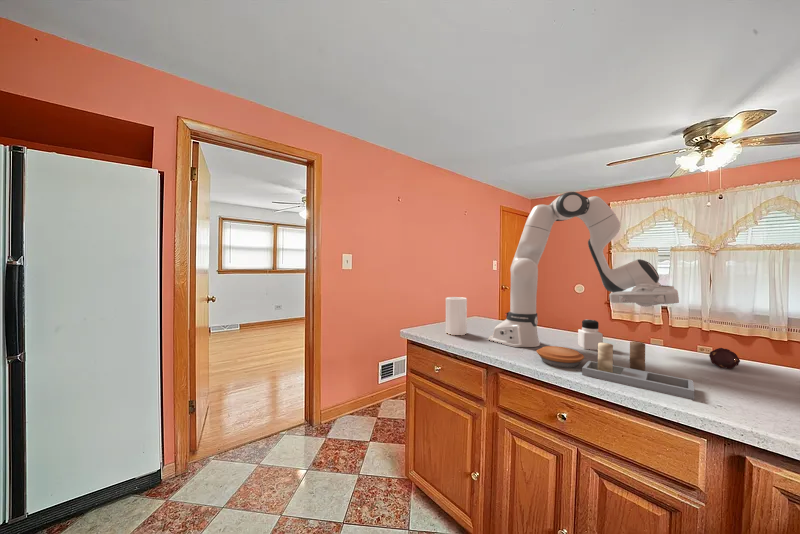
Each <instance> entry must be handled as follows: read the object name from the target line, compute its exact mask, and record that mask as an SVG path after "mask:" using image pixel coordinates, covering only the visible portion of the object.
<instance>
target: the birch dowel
mask: <svg viewBox="0 0 800 534" xmlns="http://www.w3.org/2000/svg"><path fill="white" fill-rule="evenodd" d="M597 362H598V370H600V371H605V372H610V373H613V365H614V363H613V362H614V345H613V343H607V342H603V343H598V350H597Z"/></svg>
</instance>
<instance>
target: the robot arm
mask: <svg viewBox="0 0 800 534" xmlns="http://www.w3.org/2000/svg"><path fill="white" fill-rule="evenodd" d="M573 218H578V219H579V220H581V221H582V222H583V223H584V225H585V226H586V228H587V229H588V231H589V232H588V233H589V239H588V240H587V245H588V249H589V252H590V255H591V256H592V259H593V262H594V263H595V266H596V270H597V271H598V274H599V276H600V278H601V279H600V280H601V283H602V286H603V287H604V288H605V290H606V291H608V292H611V293H609V297H608V298H609V302H610V303H612V304H615V303H616V304H617V303H618V304H619V303H620V304H623V303H624V304H625V303H626V304H631V303H632V304H633V303H634V304H636V305H638V306H640V307H652V306H657V305H671V304H672V305H673V304H678V303H680V297H679V292H678V290H677V289H676V288H675V286H674V285H661V283H660V282H659V281H660V275H659V273H658V272H657V270H656V268H655V267H654V266H653V265H652V264H651V263H650V262H649V261H646V260H644V259H641V258H640V259H639V258H638V259H636V260H633V261H630V262H627V263H626V264H623V265H621V266H618V267H615V268H614V269H613V268H610V266H609V264H608V260H607V258H606V256H605V254H604V250H605V247H606V246H607V245H608V244H609V243H611V241H612V240H614V238H615V237H616V236H617V235H618V233H619V232H620V230H621V222H620V220H619V218H618V216H617V215H616V213H615V212H614V210H613V209H612V208H611V207H610V205H608V204H607V203H606V201H605V200H604V199H602V198H601V197H600V196H595V195H594V196H590V197H589V196H584V195H582V194H581V193H578V192H576V191H566V192H564V193H562V194H561V195H559V196H557V197H556V198H555V199H554V200H553V201H551V203H549V204H543V203H542V204H537V205H535V206H534V207H533V208H532V209H531V211H530V212H529V215H528V216H527V218H526V220H525V224H524V227H523V229H522V230H523V231H522V232H521V236H520V239H519V242H518V245H517V248H516V251H515V253H514V257H513V258H512V261H511V264H510V268H509V270H510V294H509V295H510V296H509V297H510V302H509V305H510V307H509V308H510V310H509V311H508V312H505V314H504V316H505V317H506V319H504V320H503V321H502V322H500V323H498V324H497V325H496V326H495V327H494V328H493V333H492V335H489V336H488V339H487V341H489V340H490V341H489V342H493V341H494V342H493V343H497V342H498V343H497V344H501V343H502V345H505V346H509V347H513V348H534V347H539V346H541V342H540V339H539V335H538V323H539V322H538V319H539V318H538V312H537V293H538V292H537V291H538V282H539V280H538V277H539V267H538V265H539V263H540V261H541V258H542V255H543V253H544V251H545V249H546V245H547V243H548V240H549V237H550V234H551V232H552V228H553V225H554V223H555V222H562V221H563V222H564V221H567V220H570V219H573ZM631 288H632V289H631ZM627 289H631V290H629V291H628V290H627Z"/></svg>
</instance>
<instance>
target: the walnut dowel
mask: <svg viewBox="0 0 800 534" xmlns="http://www.w3.org/2000/svg"><path fill="white" fill-rule="evenodd" d="M629 368H631V369H636V370H641V371H646V343H644V342H639V341H629Z"/></svg>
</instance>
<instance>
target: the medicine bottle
mask: <svg viewBox="0 0 800 534" xmlns="http://www.w3.org/2000/svg"><path fill="white" fill-rule="evenodd" d="M599 326H600V325H599V321H597V320H595V319H583V320H582V322H581V329H577V345H578V346H579V347H580V348H582V349H584V350H589V349H590V350H591V351H598V343H604V342H603V339H604V334H603V333H601V332H600V331H599V328H600V327H599Z"/></svg>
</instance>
